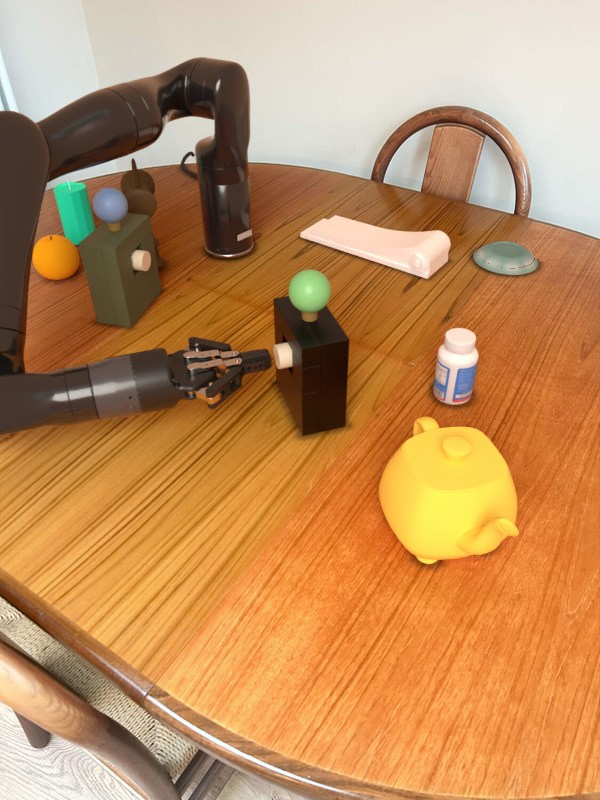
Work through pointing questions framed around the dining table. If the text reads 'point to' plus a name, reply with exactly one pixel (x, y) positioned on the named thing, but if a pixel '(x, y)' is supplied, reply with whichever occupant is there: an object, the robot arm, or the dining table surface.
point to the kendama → (141, 197)
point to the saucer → (505, 258)
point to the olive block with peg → (119, 261)
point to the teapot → (448, 493)
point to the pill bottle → (456, 367)
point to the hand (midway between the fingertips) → (269, 358)
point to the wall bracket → (384, 244)
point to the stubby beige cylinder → (282, 355)
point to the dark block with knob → (312, 354)
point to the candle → (74, 210)
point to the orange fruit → (55, 257)
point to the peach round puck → (140, 260)
